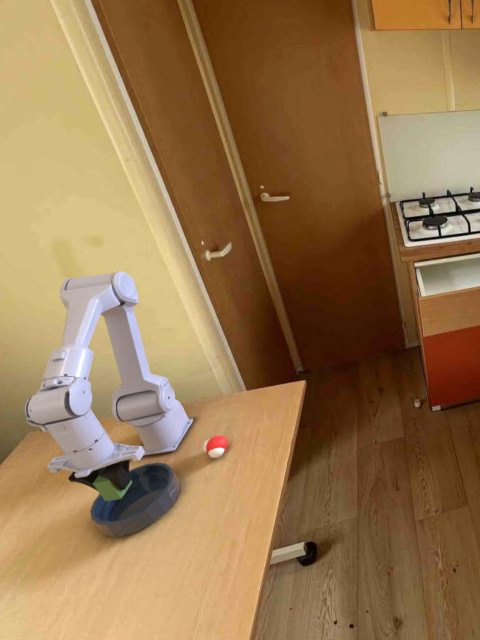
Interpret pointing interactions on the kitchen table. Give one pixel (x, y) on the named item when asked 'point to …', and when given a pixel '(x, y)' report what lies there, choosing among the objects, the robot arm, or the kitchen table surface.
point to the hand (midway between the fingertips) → (116, 486)
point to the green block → (109, 489)
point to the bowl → (137, 501)
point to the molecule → (215, 446)
